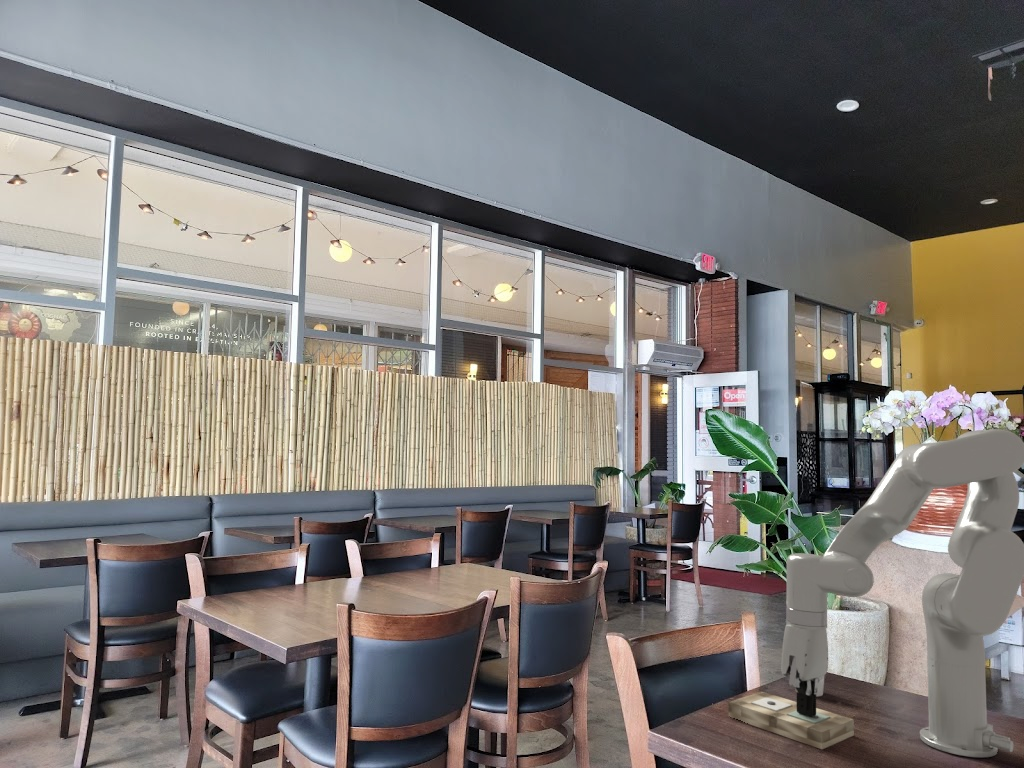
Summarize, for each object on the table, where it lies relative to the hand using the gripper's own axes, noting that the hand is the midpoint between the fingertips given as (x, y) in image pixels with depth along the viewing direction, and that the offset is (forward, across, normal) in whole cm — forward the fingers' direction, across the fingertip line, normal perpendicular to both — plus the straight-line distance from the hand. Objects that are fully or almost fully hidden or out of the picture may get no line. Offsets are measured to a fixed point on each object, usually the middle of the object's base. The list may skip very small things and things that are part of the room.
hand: (806, 713), depth 143 cm
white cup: (+4, -24, -13) cm, 28 cm away
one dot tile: (+3, 0, -8) cm, 8 cm away
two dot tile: (+2, 0, 0) cm, 2 cm away
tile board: (+4, 0, -4) cm, 5 cm away
